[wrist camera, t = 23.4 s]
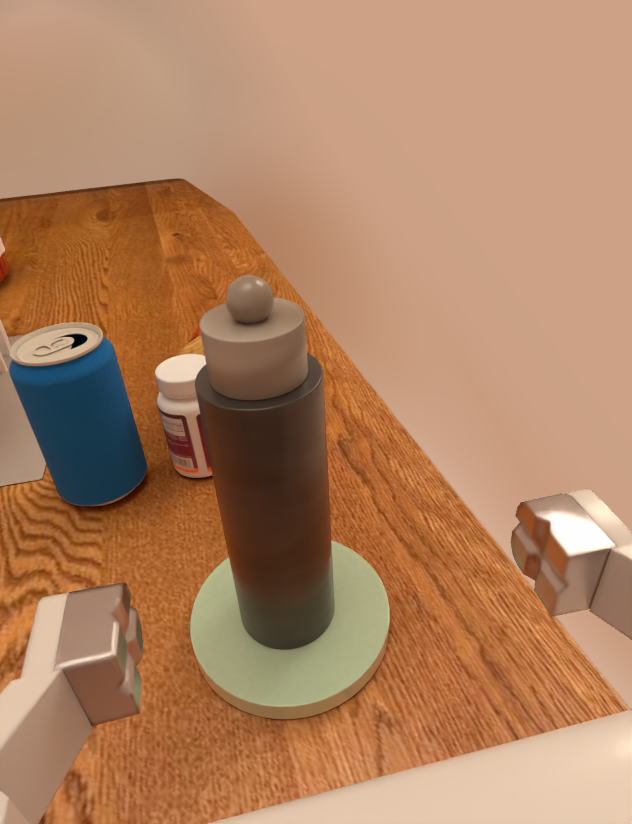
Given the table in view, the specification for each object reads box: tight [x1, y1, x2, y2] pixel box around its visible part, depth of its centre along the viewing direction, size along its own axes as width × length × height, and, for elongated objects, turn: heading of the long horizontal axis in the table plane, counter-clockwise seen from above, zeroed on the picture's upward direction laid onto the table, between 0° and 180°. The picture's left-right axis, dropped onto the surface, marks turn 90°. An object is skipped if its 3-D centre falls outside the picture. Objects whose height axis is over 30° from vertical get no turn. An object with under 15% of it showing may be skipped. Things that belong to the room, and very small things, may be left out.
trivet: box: [190, 540, 390, 719], centre depth 32 cm, size 11×11×1 cm
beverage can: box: [9, 322, 147, 506], centre depth 39 cm, size 6×6×12 cm
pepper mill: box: [195, 275, 335, 650], centre depth 26 cm, size 5×5×19 cm
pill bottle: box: [155, 354, 212, 478], centre depth 42 cm, size 5×5×8 cm
